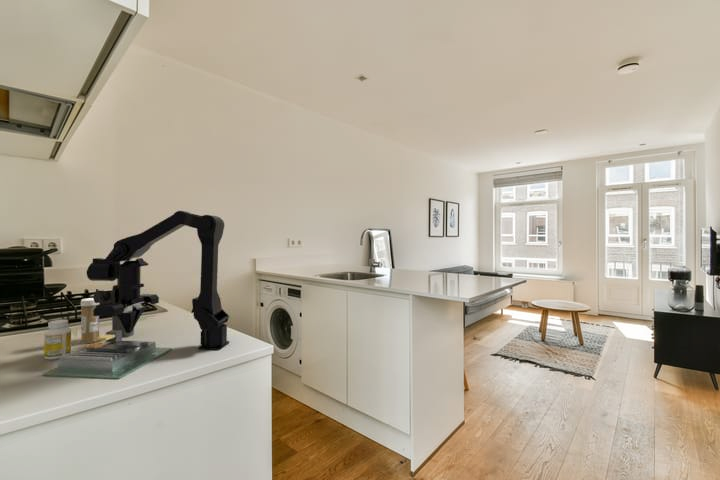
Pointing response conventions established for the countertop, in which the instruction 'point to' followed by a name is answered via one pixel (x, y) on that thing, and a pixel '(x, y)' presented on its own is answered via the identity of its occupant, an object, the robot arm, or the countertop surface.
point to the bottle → (120, 326)
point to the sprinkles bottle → (89, 321)
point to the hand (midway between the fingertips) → (128, 332)
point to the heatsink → (107, 361)
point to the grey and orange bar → (111, 347)
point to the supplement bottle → (57, 339)
